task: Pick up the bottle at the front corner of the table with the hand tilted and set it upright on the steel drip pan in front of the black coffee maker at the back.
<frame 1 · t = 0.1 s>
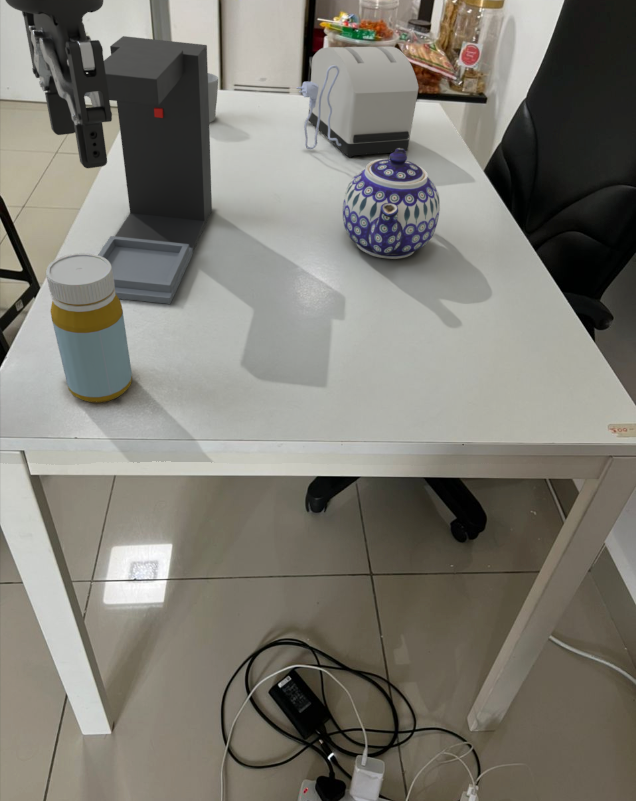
hand: (79, 148, 60), 25 cm above the table, tool pointing down, fingers open, 8 cm apart
bottle: (101, 386, 73), on the table
cup: (201, 121, 140), on the table
coffee maker: (172, 214, 106), on the table
toaster: (335, 140, 138), on the table
teapot: (384, 245, 104), on the table
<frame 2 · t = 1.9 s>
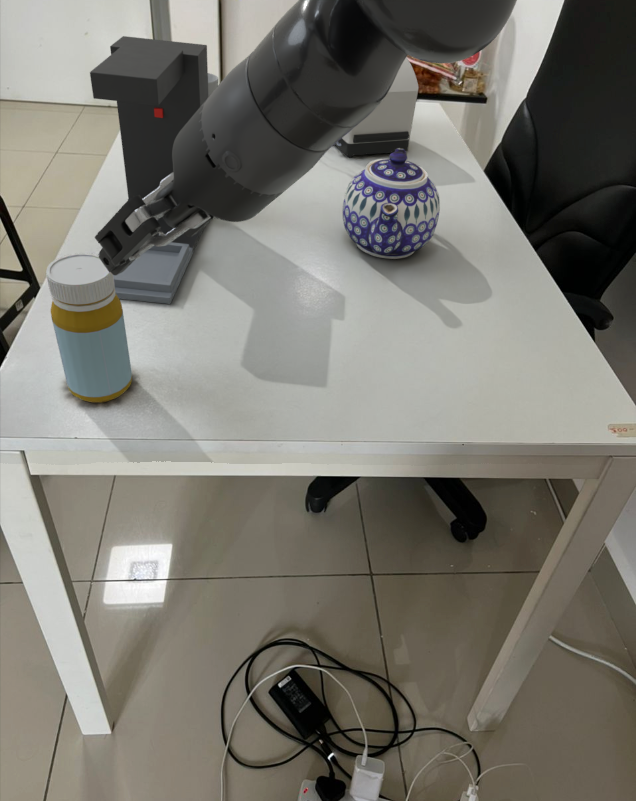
hand: (148, 244, 54), 22 cm above the table, tool tilted 45°, fingers open, 8 cm apart
nothing on the table moved.
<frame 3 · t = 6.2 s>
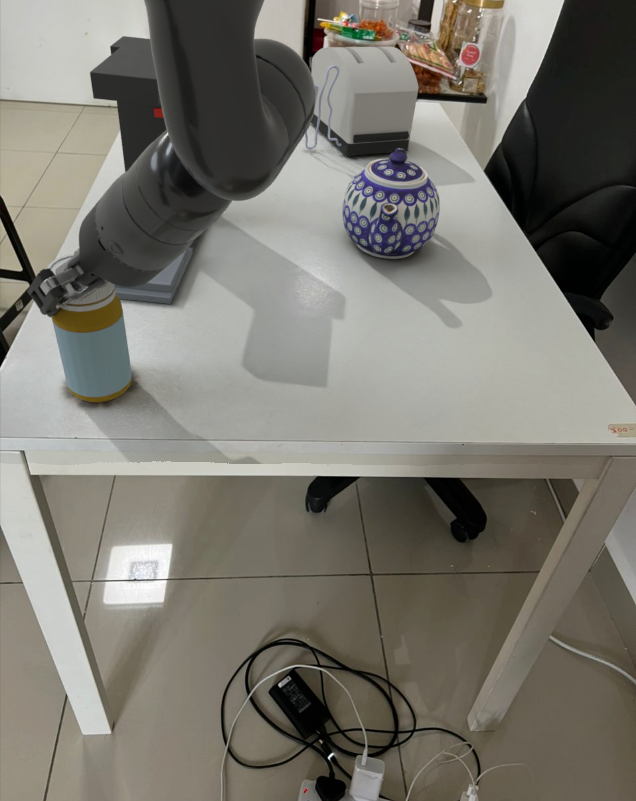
hand: (74, 294, 66), 11 cm above the table, tool tilted 45°, fingers closed on bottle, 6 cm apart
bottle: (101, 386, 73), on the table, touching gripper
everything else where it was.
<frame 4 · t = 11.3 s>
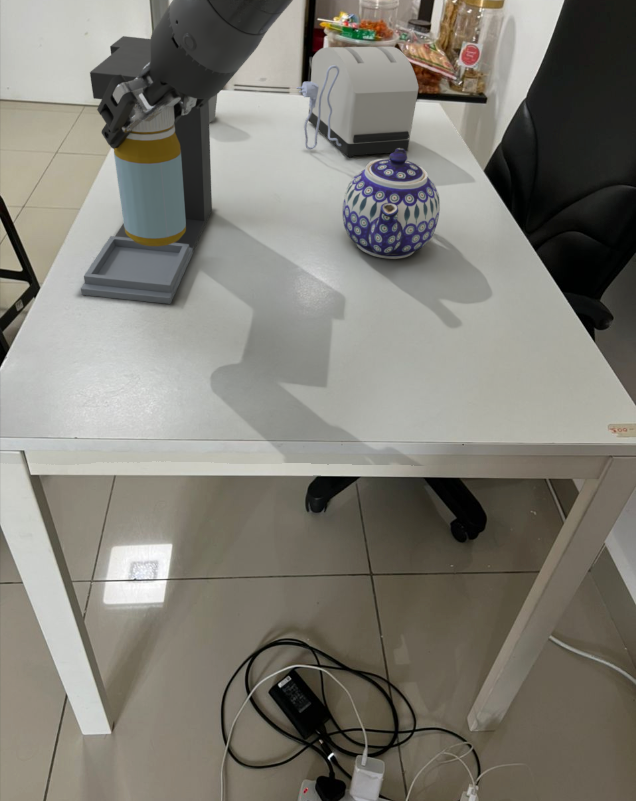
hand: (135, 132, 69), 23 cm above the table, tool tilted 45°, fingers closed on bottle, 6 cm apart
bottle: (156, 235, 76), point 12 cm above the table, touching gripper
everything else where it was.
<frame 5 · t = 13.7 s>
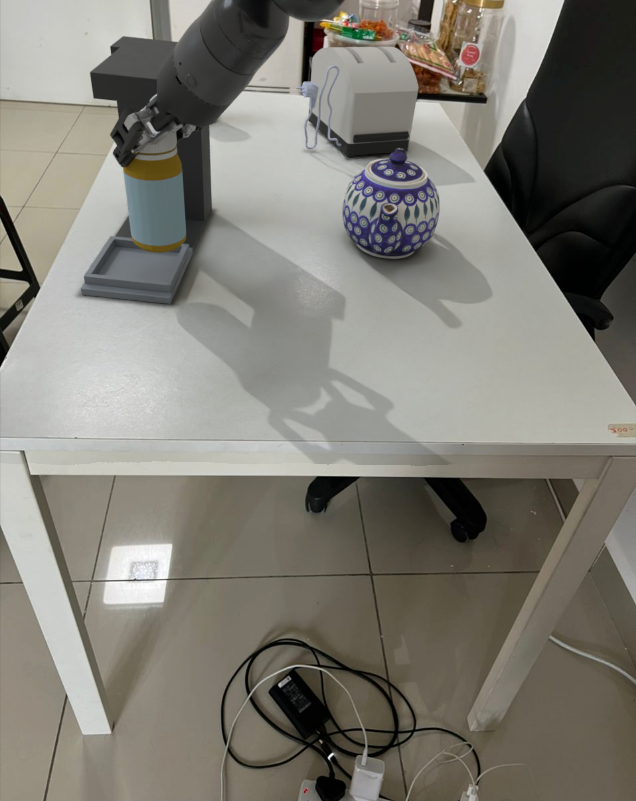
hand: (141, 152, 78), 18 cm above the table, tool tilted 45°, fingers closed on bottle, 6 cm apart
bottle: (159, 243, 85), point 6 cm above the table, touching gripper
everything else where it was.
when the fingers open (12 cm above the table, at t = 16.3 s): bottle stays where it is, resting on coffee maker.
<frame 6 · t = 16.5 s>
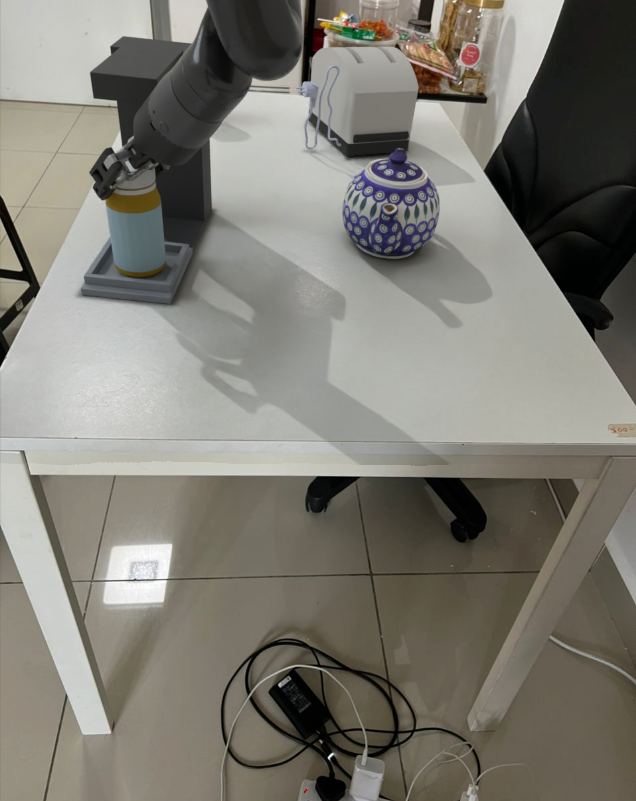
hand: (123, 184, 84), 13 cm above the table, tool tilted 45°, fingers open, 7 cm apart
bottle: (141, 268, 91), point 1 cm above the table, touching coffee maker
everything else where it was.
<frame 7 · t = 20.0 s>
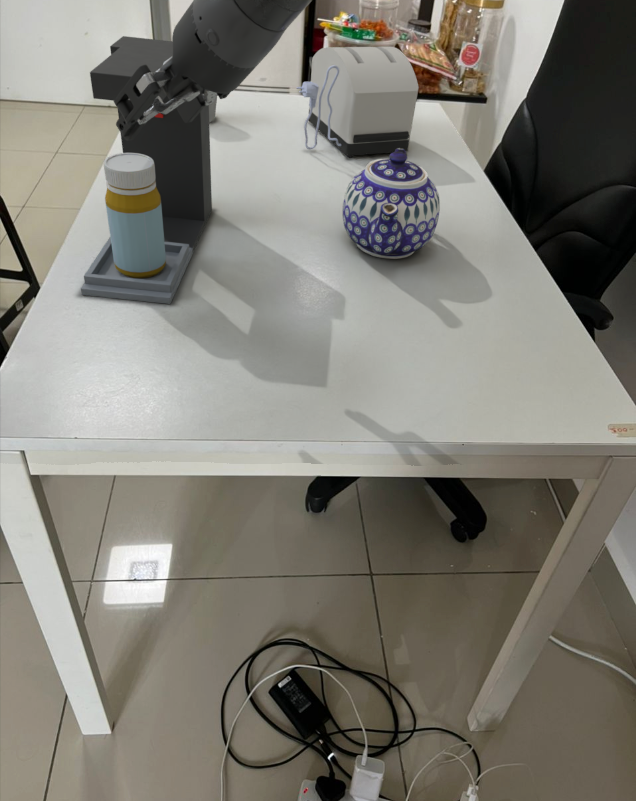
hand: (154, 123, 70), 24 cm above the table, tool tilted 45°, fingers open, 8 cm apart
nothing on the table moved.
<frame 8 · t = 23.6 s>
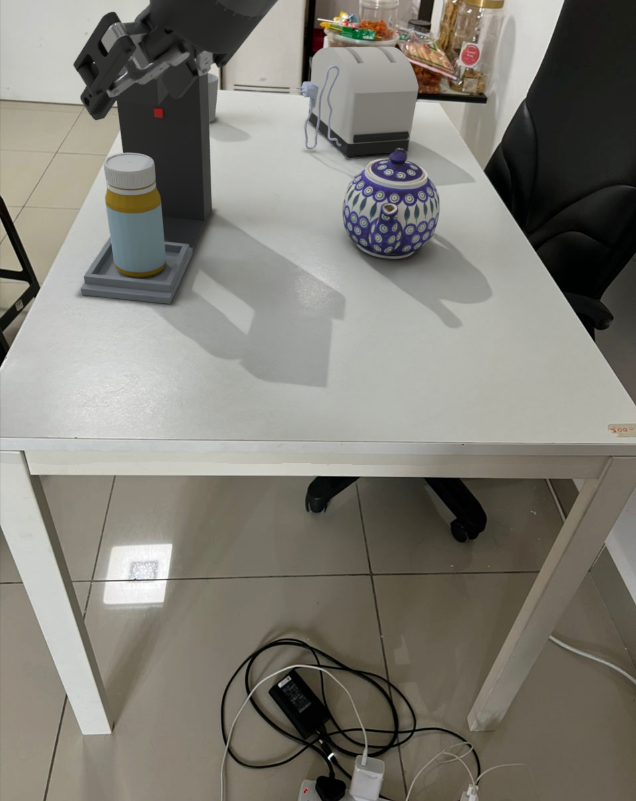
hand: (132, 98, 55), 31 cm above the table, tool tilted 45°, fingers open, 8 cm apart
nothing on the table moved.
at the end: bottle 0.2 cm from the target spot on the coffee maker, point 0.8 cm above the coffee maker's base; bottle tilted 0°; the gripper is holding nothing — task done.
